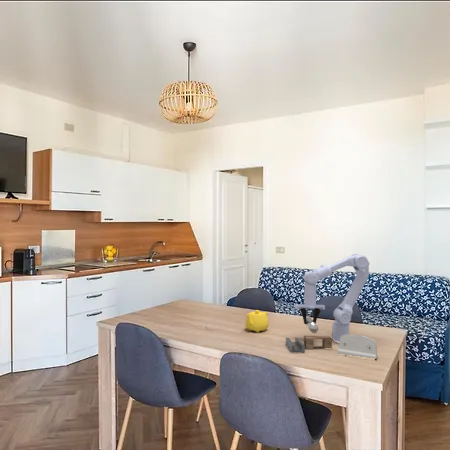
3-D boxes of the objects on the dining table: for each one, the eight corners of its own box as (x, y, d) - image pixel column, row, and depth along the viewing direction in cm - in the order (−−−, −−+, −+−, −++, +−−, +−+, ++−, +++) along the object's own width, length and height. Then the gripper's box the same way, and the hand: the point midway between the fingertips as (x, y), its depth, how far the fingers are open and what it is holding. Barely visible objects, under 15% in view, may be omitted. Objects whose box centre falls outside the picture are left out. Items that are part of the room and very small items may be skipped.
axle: (304, 324, 192) (305, 317, 192) (312, 325, 192) (312, 317, 192) (309, 332, 182) (310, 324, 182) (317, 333, 183) (318, 325, 182)
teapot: (252, 336, 196) (253, 315, 196) (237, 331, 204) (237, 311, 204) (274, 329, 209) (274, 309, 209) (258, 325, 217) (259, 306, 217)
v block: (285, 344, 183) (285, 337, 183) (298, 344, 184) (298, 337, 184) (291, 352, 171) (291, 345, 171) (304, 352, 172) (304, 345, 172)
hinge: (336, 354, 170) (338, 331, 173) (338, 355, 174) (339, 332, 177) (376, 361, 163) (377, 337, 166) (377, 361, 167) (378, 338, 170)
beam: (303, 346, 181) (304, 335, 181) (328, 346, 182) (329, 335, 182) (306, 349, 177) (306, 338, 177) (331, 349, 178) (331, 338, 178)
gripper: (297, 297, 185) (297, 325, 186) (327, 298, 186) (326, 325, 186) (294, 294, 193) (293, 321, 193) (322, 295, 193) (322, 322, 193)
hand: (309, 323), depth 190 cm, fingers closed on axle, 4 cm apart
